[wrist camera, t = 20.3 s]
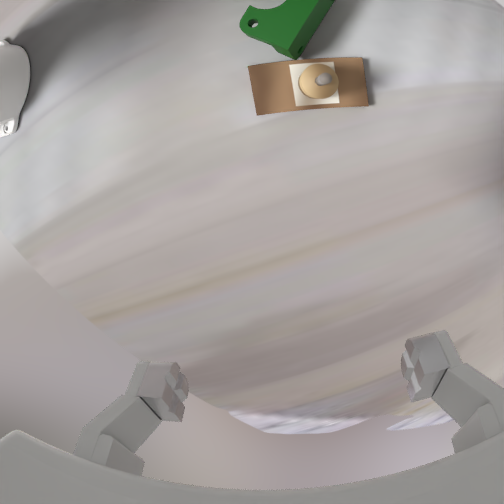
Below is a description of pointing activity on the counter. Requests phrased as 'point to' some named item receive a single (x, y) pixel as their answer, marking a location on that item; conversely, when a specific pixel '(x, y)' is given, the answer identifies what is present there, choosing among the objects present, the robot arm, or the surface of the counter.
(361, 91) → the bandage strip
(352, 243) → the counter surface
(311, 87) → the awl
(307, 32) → the clamp
